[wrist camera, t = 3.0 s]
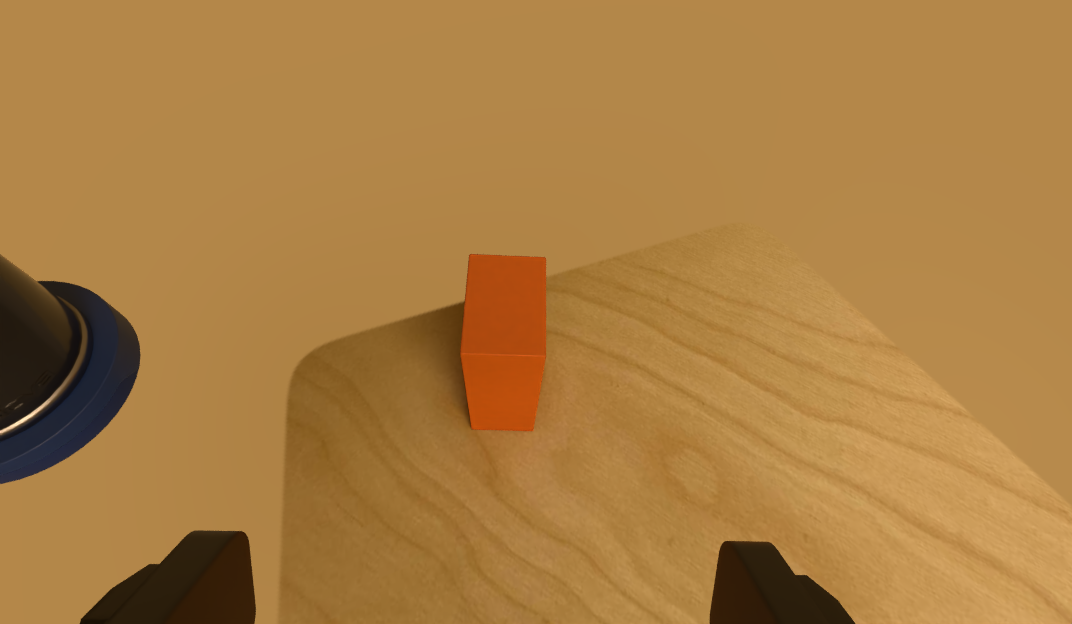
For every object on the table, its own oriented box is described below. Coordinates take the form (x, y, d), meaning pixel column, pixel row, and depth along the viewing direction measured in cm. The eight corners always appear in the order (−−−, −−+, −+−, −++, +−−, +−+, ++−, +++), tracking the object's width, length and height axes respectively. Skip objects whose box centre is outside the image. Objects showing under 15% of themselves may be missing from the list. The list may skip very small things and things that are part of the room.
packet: (471, 429, 30) (459, 353, 22) (477, 349, 33) (468, 253, 24) (533, 431, 30) (546, 356, 22) (534, 351, 33) (546, 256, 25)
